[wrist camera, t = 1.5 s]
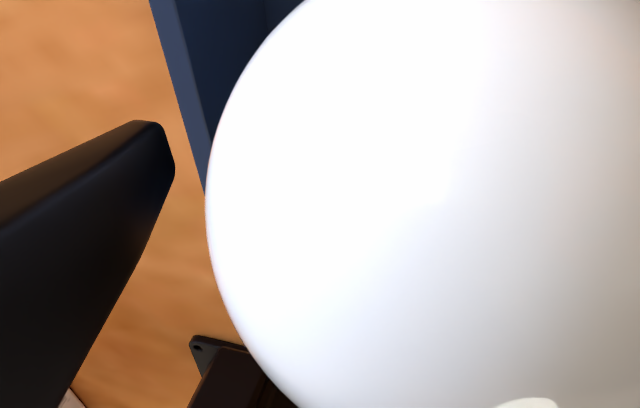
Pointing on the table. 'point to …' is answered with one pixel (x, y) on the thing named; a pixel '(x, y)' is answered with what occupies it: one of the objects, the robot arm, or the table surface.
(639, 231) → the lightbulb
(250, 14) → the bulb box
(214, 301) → the table surface
